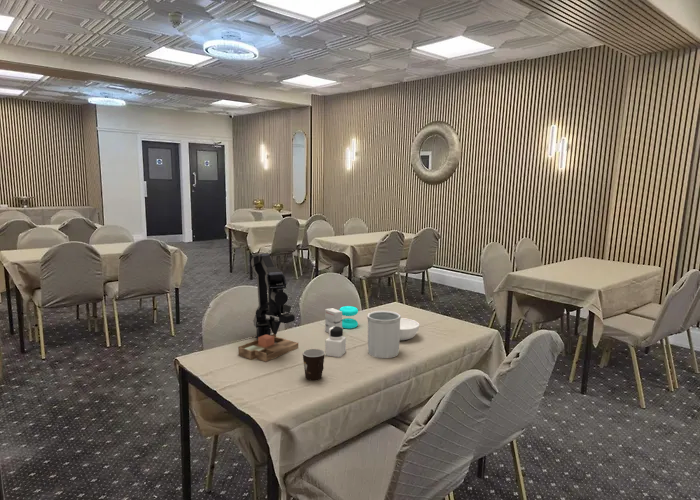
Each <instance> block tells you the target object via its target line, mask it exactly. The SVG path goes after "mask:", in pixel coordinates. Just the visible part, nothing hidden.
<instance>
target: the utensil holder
mask: <svg viewBox="0 0 700 500" xmlns="http://www.w3.org/2000/svg"><path fill="white" fill-rule="evenodd" d="M366 317H367V353H368V354H369V355H370V356H371V357H374V358H378V359H391V358H394V357H397V356H398V355H399V352H400V351H399V350H400V340H399V339H400V319H401V318H402V316H401V314H400V313H398V312H396V311H393V310H392V311H391V310H374V311H372V312H368V313H367V316H366Z"/></svg>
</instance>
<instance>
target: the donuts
mask: <svg viewBox="0 0 700 500" xmlns="http://www.w3.org/2000/svg"><path fill="white" fill-rule="evenodd" d="M338 310H339V311H342V316H343V317H344V316H345V318H342V329H348V330H349V329H350V330H351V329H355V328H357V326H358V325H359V322H358V321H357V320H356V319H354V318H350V317H354V316H356V315H358V313H359V309H358V308H357V307H356V306H351V305H346V306H345V305H344V306H341V307H340V308H339V309H338ZM346 317H348V318H346Z"/></svg>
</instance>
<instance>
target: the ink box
mask: <svg viewBox="0 0 700 500" xmlns="http://www.w3.org/2000/svg"><path fill="white" fill-rule="evenodd" d="M324 319H325V320H324V322H325V323H324V329H325V332H326V333H328V334H329V329H330V328H331V327H334V326H337V327H341V328H342V319H343V315H342V311H339V309H336V308H333V307H332V308H325V309H324ZM342 329H343V328H342Z"/></svg>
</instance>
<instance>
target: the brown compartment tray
mask: <svg viewBox="0 0 700 500" xmlns="http://www.w3.org/2000/svg"><path fill="white" fill-rule="evenodd" d="M270 336H274V344H273V345H271V346H268V347H264V346H261V345H258V339H256V340H253V341H250V342H248V343H245V344H242V345H239V346H238V347H237V348H238V350H237V351H238V352H237V353H238V357H239V356H240V357H242V358H246V359H247V360H250V361H252V360H254V359H255V360H258V361H262V362H265V363H266V362H269V361H271V360H273V359H276V358H278V357H280V356H283V355H286V354H288V353H291V352H292V351H295V350H297V349H299V342H295V341H293V340H289V339H286V338H282V337H279V336H277V334H271V335H270Z"/></svg>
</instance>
